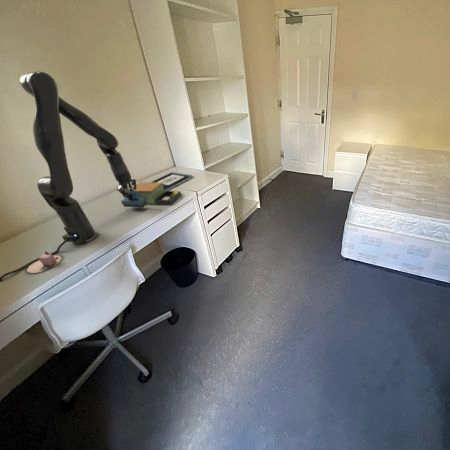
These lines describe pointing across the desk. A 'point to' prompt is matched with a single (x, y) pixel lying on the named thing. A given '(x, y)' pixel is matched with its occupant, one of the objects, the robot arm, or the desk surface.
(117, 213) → the desk surface
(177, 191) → the scrap yellow
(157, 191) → the cabinet
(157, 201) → the tray
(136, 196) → the brush
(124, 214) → the desk surface
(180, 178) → the sketchbook
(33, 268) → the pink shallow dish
